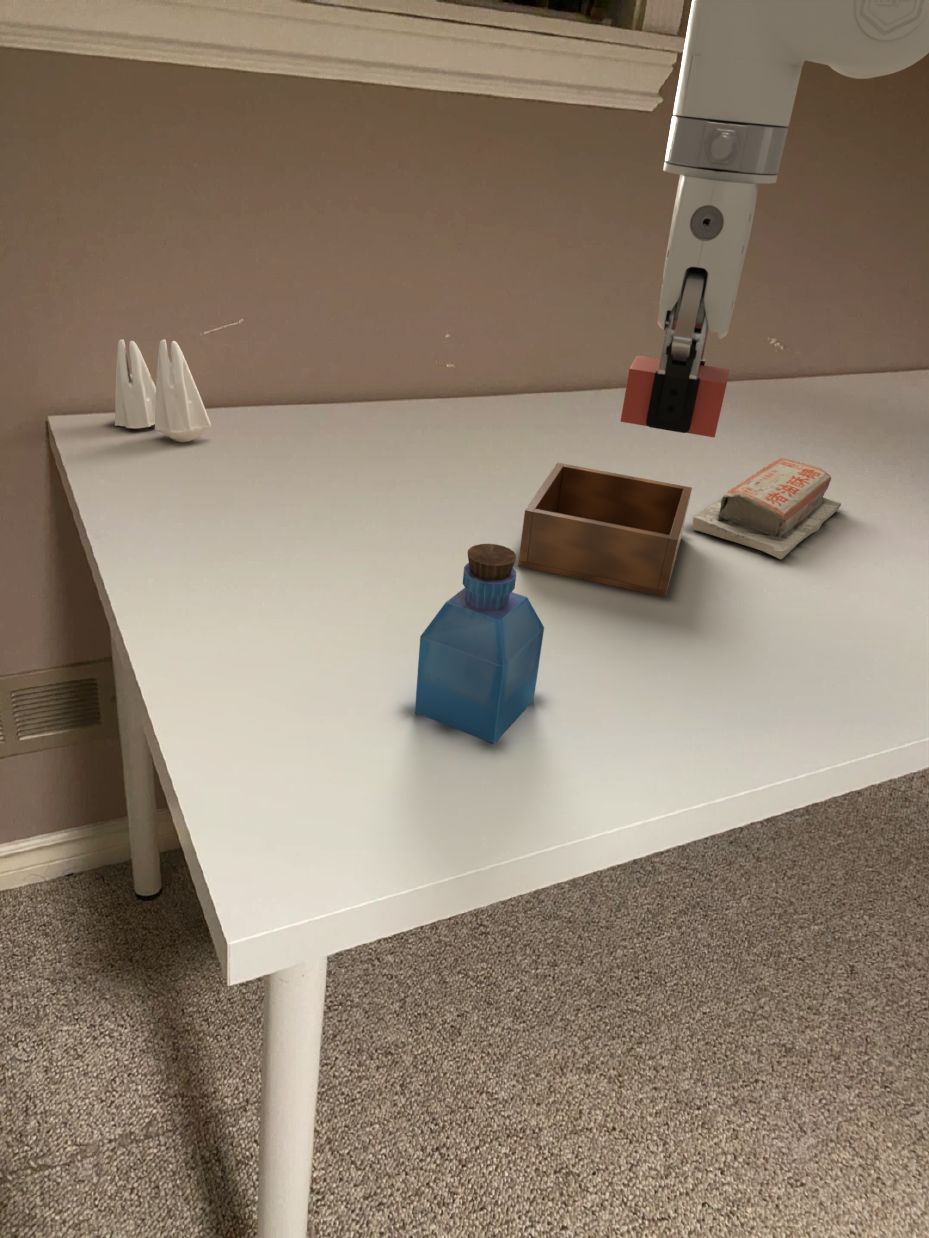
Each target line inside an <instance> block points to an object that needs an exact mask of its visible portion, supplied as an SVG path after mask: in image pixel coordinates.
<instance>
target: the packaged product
mask: <svg viewBox="0 0 929 1238" xmlns="http://www.w3.org/2000/svg"><path fill="white" fill-rule="evenodd" d="M831 481H832V476H831V475H830V474H829V473H827V471H825V470H824V469H823V468H821V467H819V466H813V465H811V464H806V463H803V462H800V461H797V460H792V459H788V458H783V457H781V458H780V457H779V458H778V459H776V460H773V462H771V463H769V464H768V465H767V466H765V467H763V468H761V469H760V470H759V471H757V472H756V473H754V474H752V475H750V476H749V477H748V478H746V479H745V480H743V481H741V482H740V483H739V484H737V485H736V486H734V487H732V488H731V489H729V490H728V491H726V492H725V493H724V494H723V495H722V497H721V499H719V500H718V501H716V503H712V504H711V505H709V506H708V507H706V508H704V509H703V510H702V511H700V512H699V513H697V514H695V515H693V517H692V530H693V531H697V532H700V533H703V534H704V533H705V534H706V535H710V536H714V537H717V538H719V539H723V540H727V541H730V542H733V543H736V544H740V545H743V546H746V547H749V548H752V549H755V550H758V551H761V552H763V553H766V554H767V555H770V556H773V557H775V558H776V559H778V560H783V559H784V558H785V557H786V556H787V555H788V554H789V553H791V551H792V550H793V549H794V548H795V547H796V546H797V545H799V544H800V543H801V542H802V541H804V540H805V539H807V538H808V537H809V536H810V535H812V534H814V533H816V532H818V531H819V530H820V528H821V527H822V525H823V523H824V522H826V520H828V519H829V518H830V517H831V516H833V515H834V514H835V513H836V512H837V511H838V510H839V509H840V508H841V506H842V502H839V501H837V500H836V501H835V500H832V499H829V498H827V497H824V496H825V493H826V492H827V490H828V489H829V486H830V483H831Z"/></svg>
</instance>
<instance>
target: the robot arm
mask: <svg viewBox="0 0 929 1238" xmlns="http://www.w3.org/2000/svg"><path fill="white" fill-rule="evenodd" d="M690 5H691V6H690V10H689V11H690V12H689V17H688V23H687V29H686V35H685V41H684V47H683V53H682V58H681V64H680V65H681V66H680V70H679V75H678V76H679V77H678V83H677V87H676V88H677V89H676V93H675V99H674V105H673V111H672V115H673V116H671V121H670V122H671V123H670V127H669V134H668V140H667V145H666V150H665V151H666V152H665V157H664V161H663V169H662V171H663V172H666V173H668V174H669V173H670V174H674V175H679V178H678V184H677V189H676V194H675V200H674V206H673V212H672V217H671V223H670V228H669V234H668V235H669V236H668V241H667V247H666V252H665V259H664V266H663V274H662V280H661V289H660V297H659V305H658V314H657V325H658V327H659V329H661V330H662V331H663V332H664V331H665V332H664V334H665V335H664V340H663V345H662V351H661V355H660V356H661V357H660V359H661V360H660V365H659V370H658V371H656V372H655V376H654V382H653V387H652V392H651V398H650V403H649V409H648V414H647V419H646V424H647V426H646V427H648V428H652V429H656V430H657V429H658V430H663V431H670V432H674V433H675V432H676V433H680V434H688V433H687V432H688V431H689V429H690V426H691V421H692V416H693V412H694V407H695V402H696V397H697V393H698V388H699V383H700V378H697V375H698V370H699V366H700V365H703V366H706V365H705V364H706V360H703V359H704V354H705V349H706V344H707V340H708V335H709V332H710V333H717V336H716V339H717V340H721V339H724V338H725V337H726V336H727V335H728V334H729V330H730V326H731V322H732V319H733V318H732V317H733V314H734V309H735V305H736V301H737V297H738V292H739V288H740V282H741V278H742V274H743V270H744V265H745V262H746V261H745V260H746V256H747V251H748V248H749V244H750V238H751V233H752V228H753V223H754V218H755V211H756V206H757V200H758V193H759V185H760V184H762V185H771V184H777V180H778V174H779V171H780V168H781V163H782V157H783V153H784V149H785V145H786V141H787V140H786V139H787V136H788V132H789V128H788V127H789V126H790V122H791V118H792V114H793V109H794V105H795V100H796V96H797V91H798V88H799V83H800V79H801V74H802V70H803V67H804V64H805V62H811V63H816V64H819V65H820V64H821V65H825V66H828V67H829V68H831V69H832V70H833V71H835V72H836V73H838V74H840V75H842V76H844V77H848V78H852V79H859V80H866V79H873V78H878V77H884V76H888V75H891V74H895V73H898V72H900V71H903V70H905V69H907V68H909V67H911V66H913V65H914V64H916V63H918V62H919V61H920V60H922V59H923V58H924V57H925V56H927V55H928V54H929V0H692V1H691V4H690ZM691 365H692V367H691Z"/></svg>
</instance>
